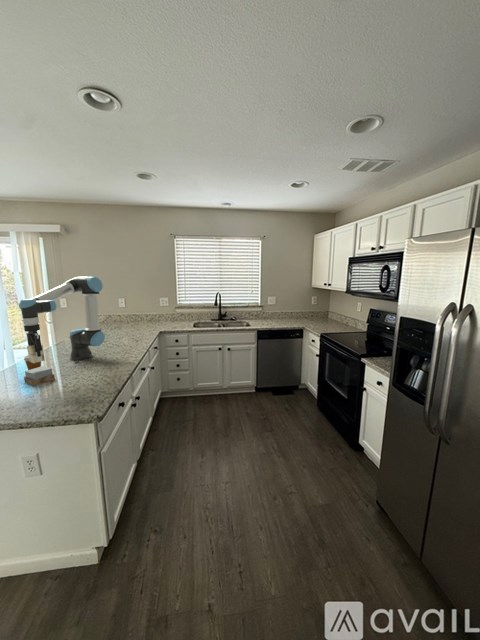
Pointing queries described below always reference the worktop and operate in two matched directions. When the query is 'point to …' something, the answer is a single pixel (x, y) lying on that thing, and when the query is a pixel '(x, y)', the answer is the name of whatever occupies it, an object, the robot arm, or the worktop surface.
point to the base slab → (39, 380)
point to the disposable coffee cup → (31, 365)
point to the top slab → (38, 372)
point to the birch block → (32, 354)
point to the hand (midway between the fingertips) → (37, 360)
